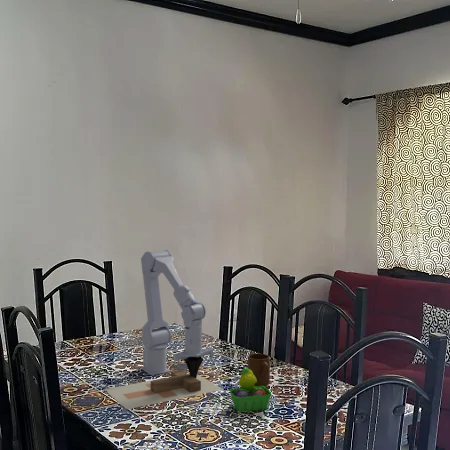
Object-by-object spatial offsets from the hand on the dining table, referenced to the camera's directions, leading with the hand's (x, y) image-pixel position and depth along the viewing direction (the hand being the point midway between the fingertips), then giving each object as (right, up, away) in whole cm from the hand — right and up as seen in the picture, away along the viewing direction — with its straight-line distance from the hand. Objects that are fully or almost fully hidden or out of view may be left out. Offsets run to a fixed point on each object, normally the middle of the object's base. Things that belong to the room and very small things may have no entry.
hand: (193, 378), depth 193 cm
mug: (+23, -2, -1) cm, 23 cm away
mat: (-9, -3, -6) cm, 11 cm away
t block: (-7, -2, -4) cm, 8 cm away
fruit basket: (+18, -4, -20) cm, 28 cm away
